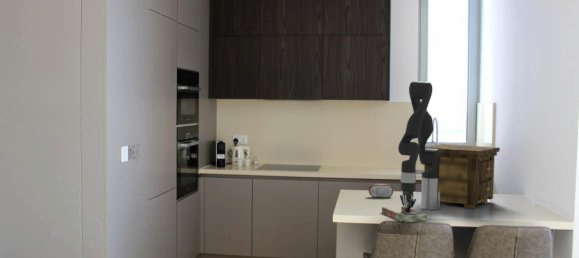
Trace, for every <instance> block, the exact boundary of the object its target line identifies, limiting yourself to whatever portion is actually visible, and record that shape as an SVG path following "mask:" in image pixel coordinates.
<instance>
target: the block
mask: <svg viewBox="0 0 579 258" xmlns="http://www.w3.org/2000/svg"><path fill="white" fill-rule="evenodd" d="M404 215H419V213H416V212H405V213H404Z"/></svg>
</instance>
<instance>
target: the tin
mask: <svg viewBox="0 0 579 258" xmlns="http://www.w3.org/2000/svg"><path fill="white" fill-rule="evenodd" d="M368 193H369V196H371V198H375V197H389V198H390V197H392V196H393V194H394V188H393V186H392V185H390V184H388V183H373V184H371V185H370V186H369V187H368Z"/></svg>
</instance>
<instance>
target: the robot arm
mask: <svg viewBox="0 0 579 258" xmlns="http://www.w3.org/2000/svg"><path fill="white" fill-rule="evenodd" d="M408 95H409V99H410V103H411V106H412V107H411V108H412V110H413V111H412V114H411V115H410V117H408V120H407V123H406V127H405V128H406V129H405V132H404V134H403V135H402V138H401V140H399V141H400V142H399V144H398V146H397V147H398V153H399V154H400V155H401V156H408V159H406V160H403V161H402V162H401V170H400V171H401V173H400V191H401V192H402V194H401V195H399V198H400V202H401V205H402V206H404V207H405V212H410V209H412V208H413V207H414V206H415V203H416V201H417V198H415V197H414V196H415V195H414V192H415V191H416V190H417V189H416V188H417V187H416V186H417V175H416V172H417V171H416V170H417V169H416V167H417V161H418V159H419V163H420V165H433V167H432V169H430V170H428V171H422V172H421V194H420V195H421V196H420V197H421V198H420V199H421V200H420V209H422V210H428V211H429V210H430V211H436V210H440V208H441V201H440V192H439V166H440V151H439V150H438V149H427V148H426V146H427V145H426V144H427V142H428V140H429V139H430V137H431V136H432V134H433V132H434V121H433V117H432V115H431V114H430V112H429V111H428V110H427V109H428V107H429V104H430V101H431V99H432V95H433V85H432V83H431V82H429V81H419V80H418V81H411V82H410V83H409V86H408ZM414 139H417V142H416V141H412V140H414Z"/></svg>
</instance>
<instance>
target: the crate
mask: <svg viewBox="0 0 579 258" xmlns="http://www.w3.org/2000/svg"><path fill="white" fill-rule="evenodd" d="M425 147H426V148H427V149H438V150H439V151H440V166H439V192H440V202H447V203H448V202H449V203H455V204H463V208H464V209H465V208H466V209H475V208H476V206H477V205H479V204H487V203H488V201H489V200H493V199H494V178H495V177H494V173H495V172H494V171H495V157H497V156H498V153H499V152H500V147H495V146H480V145H479V146H478V145H460V144H447V143H446V144H445V143H443V144H442V143H441V144H436V145H435V144H433V145H428V146H427V145H425ZM432 167H433V165H424V171H428V170H430V169H432ZM424 171H423V172H424Z"/></svg>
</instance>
